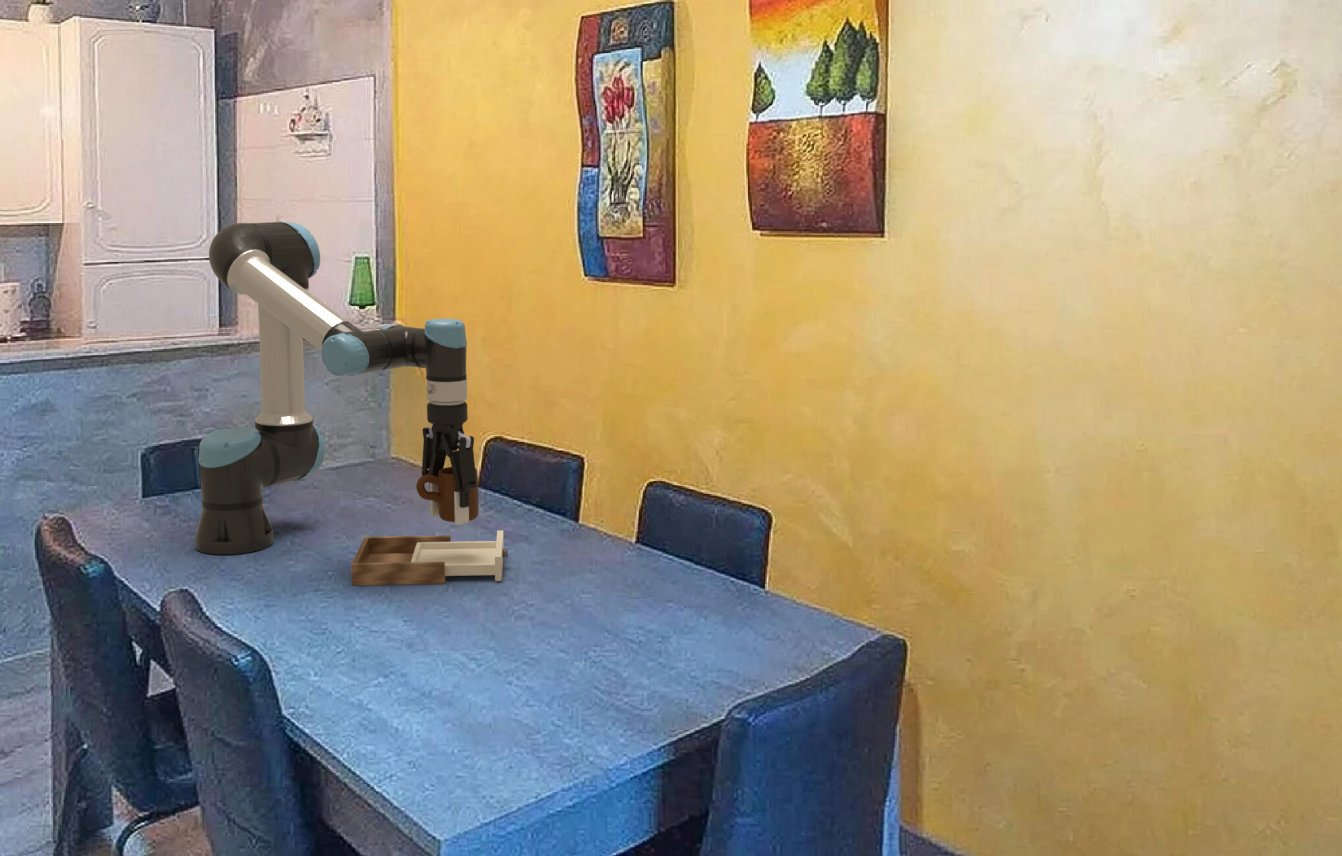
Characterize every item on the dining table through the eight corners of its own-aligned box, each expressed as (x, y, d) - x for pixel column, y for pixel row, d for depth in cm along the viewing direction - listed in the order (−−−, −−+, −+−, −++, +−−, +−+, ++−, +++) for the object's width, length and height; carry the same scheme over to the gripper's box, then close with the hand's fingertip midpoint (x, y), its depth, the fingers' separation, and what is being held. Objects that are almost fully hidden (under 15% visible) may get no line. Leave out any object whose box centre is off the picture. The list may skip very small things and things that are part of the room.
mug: (423, 527, 225) (422, 478, 223) (411, 517, 232) (410, 470, 230) (484, 520, 231) (483, 472, 229) (471, 510, 237) (470, 464, 235)
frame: (351, 585, 222) (351, 564, 221) (365, 555, 239) (364, 536, 239) (444, 583, 224) (444, 563, 223) (450, 554, 241) (450, 535, 241)
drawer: (409, 582, 223) (408, 558, 222) (417, 554, 240) (417, 531, 239) (506, 580, 225) (506, 556, 224) (508, 552, 242) (508, 530, 241)
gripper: (400, 396, 231) (403, 511, 235) (461, 411, 217) (464, 533, 221) (433, 392, 236) (436, 505, 240) (495, 406, 222) (497, 526, 226)
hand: (449, 518), depth 231 cm, fingers closed on mug, 7 cm apart
